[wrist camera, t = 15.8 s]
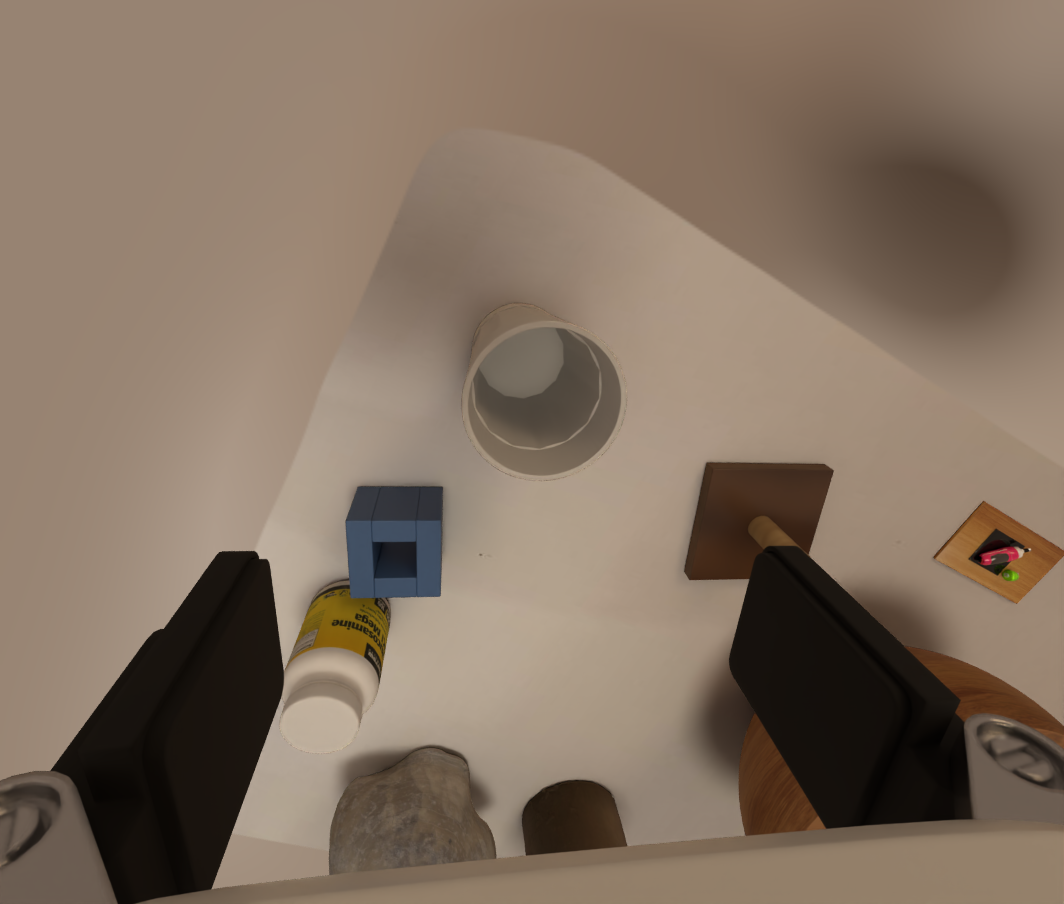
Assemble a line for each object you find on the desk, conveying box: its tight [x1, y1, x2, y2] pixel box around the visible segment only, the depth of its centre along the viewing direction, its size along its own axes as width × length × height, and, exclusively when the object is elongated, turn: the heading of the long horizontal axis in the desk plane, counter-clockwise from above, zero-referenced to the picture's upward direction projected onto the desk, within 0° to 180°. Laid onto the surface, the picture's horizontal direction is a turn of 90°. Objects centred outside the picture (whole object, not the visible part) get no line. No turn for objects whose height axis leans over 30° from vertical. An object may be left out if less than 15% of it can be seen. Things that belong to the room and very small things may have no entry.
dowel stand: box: [684, 463, 834, 580], centre depth 42 cm, size 10×10×7 cm
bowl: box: [738, 646, 1064, 836], centre depth 47 cm, size 25×25×15 cm
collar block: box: [346, 487, 443, 598], centre depth 39 cm, size 6×6×5 cm
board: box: [933, 501, 1064, 604], centre depth 49 cm, size 6×12×2 cm, turn 60°
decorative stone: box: [329, 748, 496, 875], centre depth 45 cm, size 15×10×15 cm
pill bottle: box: [279, 581, 391, 754], centre depth 38 cm, size 6×6×11 cm
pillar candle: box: [522, 781, 627, 856], centre depth 49 cm, size 10×10×15 cm
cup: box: [461, 303, 627, 481], centre depth 32 cm, size 8×8×12 cm
